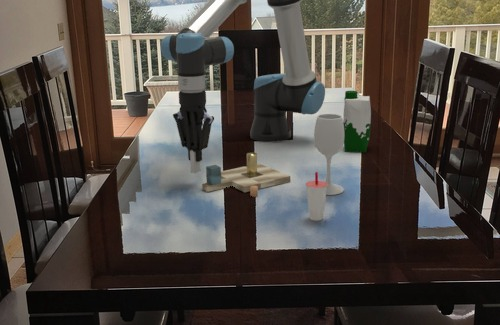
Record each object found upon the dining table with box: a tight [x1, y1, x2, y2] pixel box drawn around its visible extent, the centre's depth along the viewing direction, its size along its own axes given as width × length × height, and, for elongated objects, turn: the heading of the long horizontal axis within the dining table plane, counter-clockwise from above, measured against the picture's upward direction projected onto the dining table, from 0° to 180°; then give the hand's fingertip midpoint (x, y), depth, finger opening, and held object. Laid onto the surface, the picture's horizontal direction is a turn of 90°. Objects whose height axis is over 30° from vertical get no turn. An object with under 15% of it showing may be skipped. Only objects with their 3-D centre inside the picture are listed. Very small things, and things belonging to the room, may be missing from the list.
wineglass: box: [313, 113, 345, 196], centre depth 168 cm, size 9×9×21 cm
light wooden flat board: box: [201, 162, 291, 193], centre depth 178 cm, size 16×24×6 cm, turn 124°
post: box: [246, 152, 258, 178], centre depth 180 cm, size 3×3×8 cm
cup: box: [305, 171, 328, 222], centre depth 150 cm, size 5×5×12 cm
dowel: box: [249, 186, 259, 198], centre depth 168 cm, size 2×2×3 cm
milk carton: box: [342, 90, 372, 154], centre depth 208 cm, size 9×9×20 cm
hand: (195, 171), depth 177 cm, fingers closed
